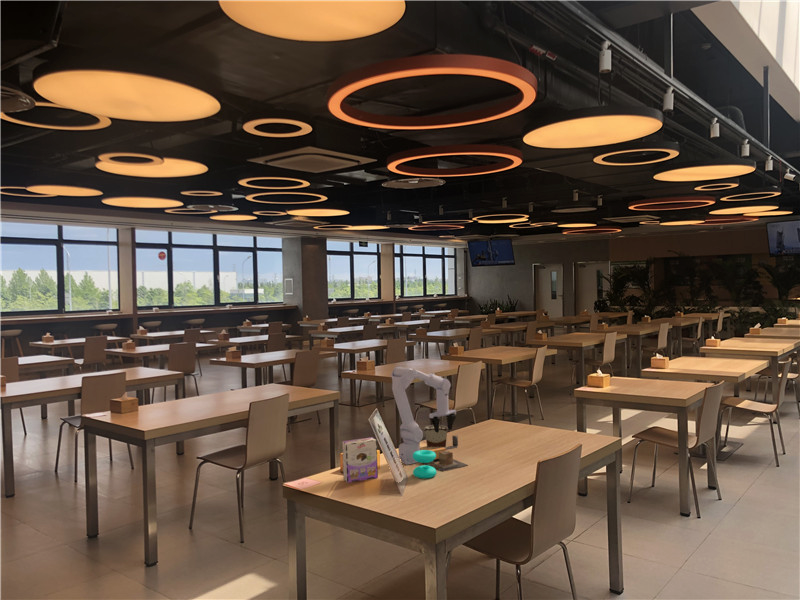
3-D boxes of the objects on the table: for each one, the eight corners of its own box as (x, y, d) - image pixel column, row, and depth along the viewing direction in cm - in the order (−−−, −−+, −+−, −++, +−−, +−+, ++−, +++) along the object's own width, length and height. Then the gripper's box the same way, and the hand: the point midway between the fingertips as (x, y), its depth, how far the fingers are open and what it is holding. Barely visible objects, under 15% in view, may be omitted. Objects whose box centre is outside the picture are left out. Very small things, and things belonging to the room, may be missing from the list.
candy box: (373, 474, 255) (372, 436, 255) (378, 478, 250) (377, 439, 250) (343, 479, 250) (341, 440, 250) (346, 483, 245) (345, 443, 245)
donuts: (427, 447, 258) (440, 453, 249) (428, 470, 258) (441, 476, 250) (408, 451, 253) (420, 457, 244) (408, 474, 253) (421, 481, 245)
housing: (444, 465, 262) (444, 453, 262) (439, 463, 266) (439, 451, 266) (453, 463, 265) (452, 451, 265) (447, 461, 268) (447, 449, 268)
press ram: (428, 460, 269) (427, 442, 269) (425, 459, 271) (424, 441, 271) (459, 454, 278) (458, 436, 278) (456, 453, 280) (455, 435, 280)
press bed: (442, 471, 256) (442, 465, 256) (419, 461, 271) (419, 455, 271) (467, 465, 263) (467, 459, 263) (444, 456, 279) (444, 450, 279)
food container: (449, 443, 301) (448, 424, 300) (448, 447, 294) (448, 427, 294) (424, 444, 302) (424, 424, 302) (424, 447, 296) (423, 427, 296)
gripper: (434, 406, 278) (435, 434, 278) (459, 402, 286) (460, 430, 286) (426, 403, 284) (427, 431, 284) (451, 400, 292) (451, 427, 292)
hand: (443, 430), depth 286 cm, fingers open, 7 cm apart
